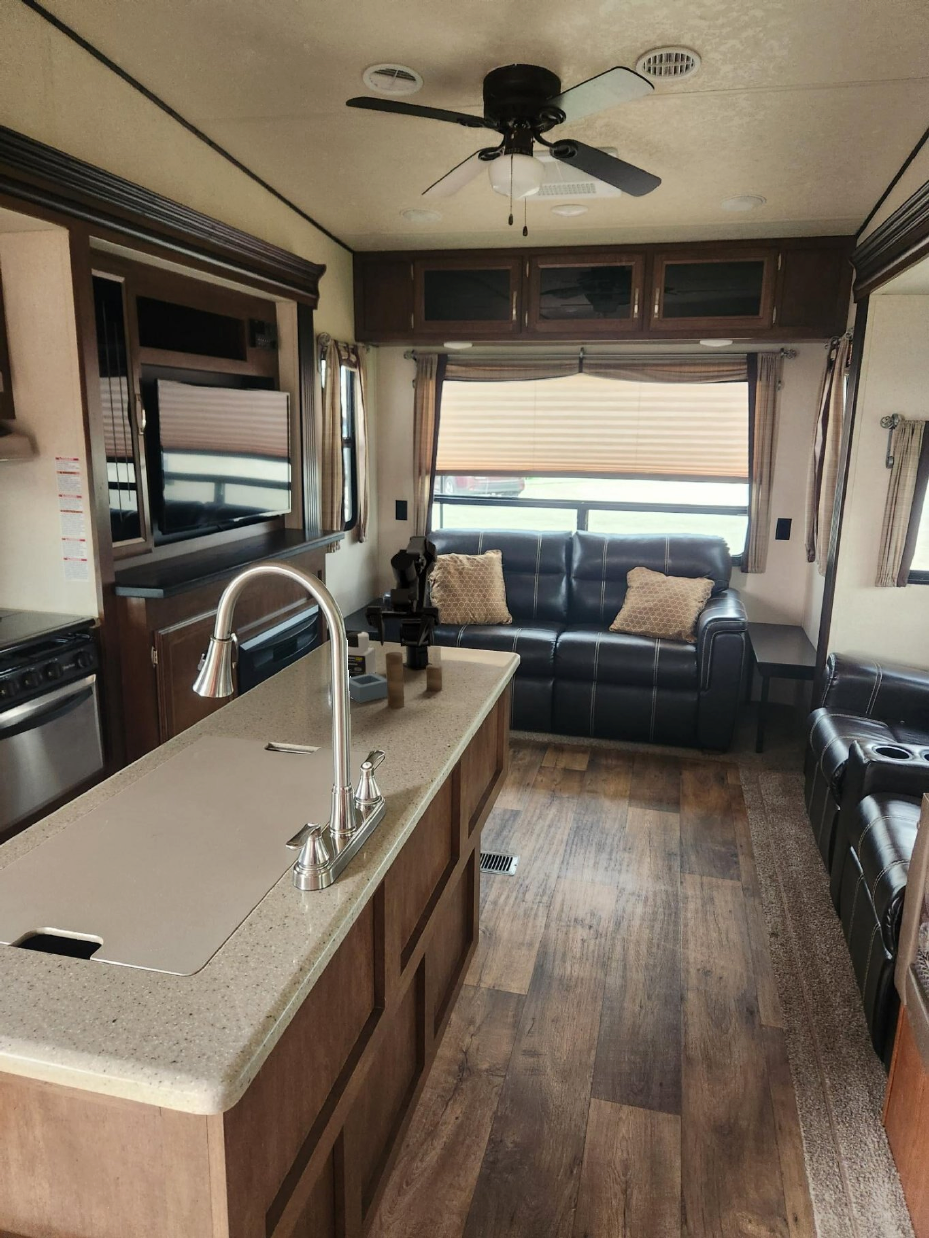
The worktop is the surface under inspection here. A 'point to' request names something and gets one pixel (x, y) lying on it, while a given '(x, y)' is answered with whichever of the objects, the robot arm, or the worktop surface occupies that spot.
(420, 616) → the robot arm
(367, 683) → the socket block
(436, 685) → the short pin
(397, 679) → the tall pin
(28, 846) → the worktop surface
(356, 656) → the medicine bottle
